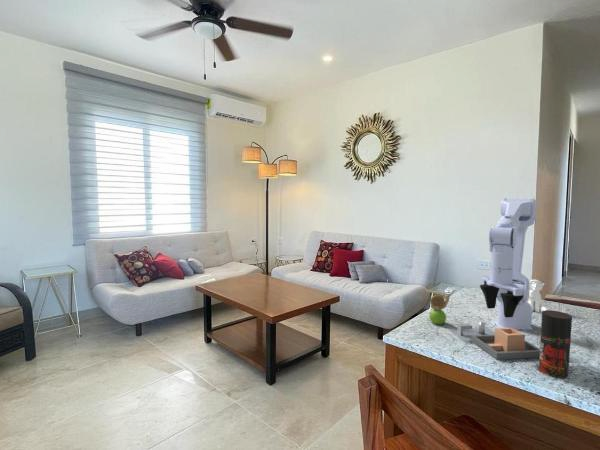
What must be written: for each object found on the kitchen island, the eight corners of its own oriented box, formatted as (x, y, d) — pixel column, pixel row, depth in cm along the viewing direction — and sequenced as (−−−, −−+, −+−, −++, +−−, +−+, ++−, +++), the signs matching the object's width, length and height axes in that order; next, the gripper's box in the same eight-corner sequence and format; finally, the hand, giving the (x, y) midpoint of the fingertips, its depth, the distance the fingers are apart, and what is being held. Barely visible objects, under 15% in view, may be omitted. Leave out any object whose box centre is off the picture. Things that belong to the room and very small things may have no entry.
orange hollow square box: (510, 343, 99) (511, 327, 99) (524, 351, 94) (525, 334, 94) (483, 345, 98) (484, 328, 98) (495, 353, 93) (496, 335, 93)
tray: (513, 341, 103) (513, 333, 103) (543, 359, 91) (544, 351, 91) (470, 343, 102) (471, 335, 101) (496, 361, 90) (496, 353, 90)
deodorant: (533, 366, 88) (536, 310, 86) (554, 365, 88) (557, 309, 87) (551, 378, 82) (555, 319, 80) (574, 377, 82) (578, 318, 81)
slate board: (487, 329, 112) (487, 327, 112) (506, 340, 103) (506, 338, 103) (447, 330, 111) (447, 329, 111) (462, 342, 102) (462, 340, 102)
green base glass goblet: (450, 328, 113) (451, 293, 112) (430, 326, 114) (431, 292, 113) (447, 322, 118) (448, 289, 117) (427, 321, 120) (428, 288, 119)
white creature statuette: (519, 311, 130) (521, 280, 129) (517, 304, 137) (519, 276, 136) (549, 315, 125) (551, 283, 124) (546, 308, 133) (547, 278, 132)
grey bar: (482, 332, 108) (482, 321, 108) (486, 334, 106) (486, 323, 106) (457, 333, 108) (457, 322, 107) (460, 335, 106) (460, 324, 105)
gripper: (473, 263, 106) (472, 305, 107) (506, 273, 91) (504, 322, 93) (494, 262, 106) (492, 304, 108) (530, 272, 92) (527, 320, 93)
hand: (499, 312), depth 100 cm, fingers open, 7 cm apart
